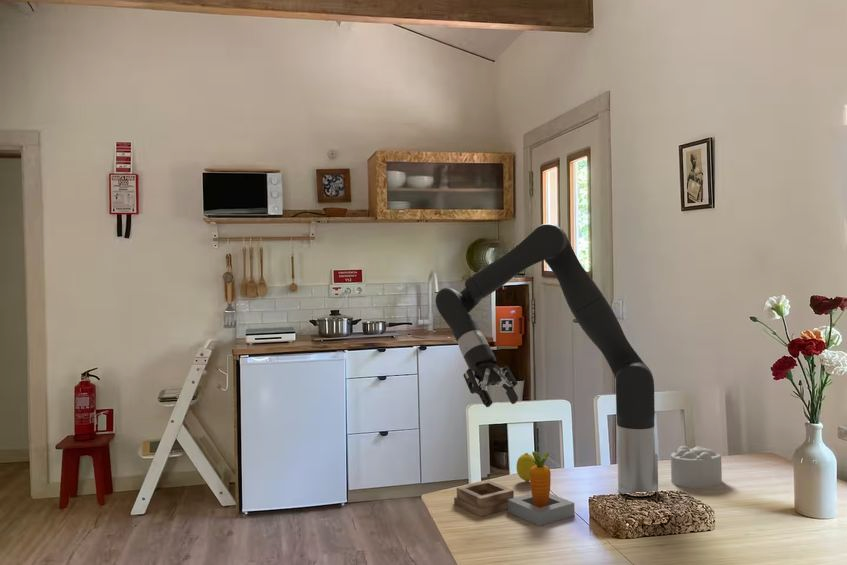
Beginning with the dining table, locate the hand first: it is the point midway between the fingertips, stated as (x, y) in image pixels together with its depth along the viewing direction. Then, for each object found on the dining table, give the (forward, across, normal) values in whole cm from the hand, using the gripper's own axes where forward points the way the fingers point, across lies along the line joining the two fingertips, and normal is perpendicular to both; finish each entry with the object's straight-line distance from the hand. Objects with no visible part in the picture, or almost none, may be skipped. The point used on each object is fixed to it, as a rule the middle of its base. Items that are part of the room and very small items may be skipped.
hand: (502, 403), depth 169 cm
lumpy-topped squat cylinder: (+31, +50, -2) cm, 58 cm away
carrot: (+27, +1, +6) cm, 28 cm away
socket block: (+27, +1, +6) cm, 27 cm away
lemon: (+14, +15, +20) cm, 29 cm away
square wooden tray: (+19, -6, +16) cm, 25 cm away
